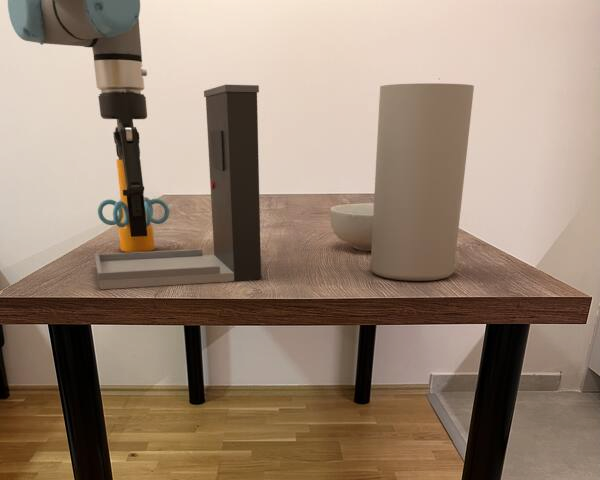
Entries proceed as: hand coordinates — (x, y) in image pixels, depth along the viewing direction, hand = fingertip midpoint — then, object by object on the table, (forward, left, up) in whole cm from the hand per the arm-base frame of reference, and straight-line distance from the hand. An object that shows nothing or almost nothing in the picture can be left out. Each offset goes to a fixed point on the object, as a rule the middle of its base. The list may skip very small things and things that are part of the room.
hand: (136, 231), depth 113 cm
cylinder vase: (+38, -33, -3) cm, 51 cm away
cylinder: (0, 0, -3) cm, 3 cm away
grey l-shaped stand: (+4, -23, -3) cm, 24 cm away
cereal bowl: (+42, -10, -3) cm, 43 cm away
